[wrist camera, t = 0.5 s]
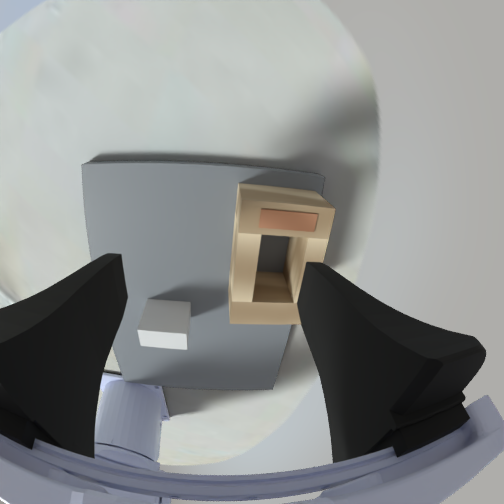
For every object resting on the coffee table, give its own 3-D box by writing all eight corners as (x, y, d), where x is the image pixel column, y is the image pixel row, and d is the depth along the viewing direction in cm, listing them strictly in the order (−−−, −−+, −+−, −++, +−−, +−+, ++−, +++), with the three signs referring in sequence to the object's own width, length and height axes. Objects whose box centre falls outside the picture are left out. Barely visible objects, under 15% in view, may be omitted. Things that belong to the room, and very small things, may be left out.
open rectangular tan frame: (293, 293, 21) (305, 325, 18) (228, 290, 20) (229, 324, 17) (315, 191, 17) (336, 209, 14) (238, 182, 17) (242, 200, 13)
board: (271, 382, 28) (277, 416, 24) (126, 374, 25) (118, 407, 21) (320, 174, 18) (346, 191, 14) (88, 162, 16) (54, 176, 12)
